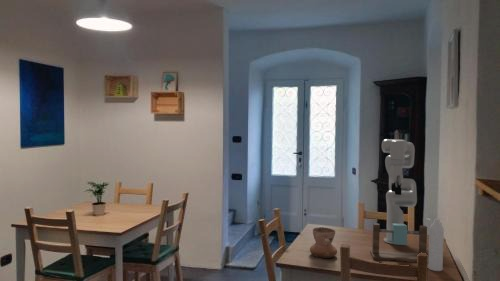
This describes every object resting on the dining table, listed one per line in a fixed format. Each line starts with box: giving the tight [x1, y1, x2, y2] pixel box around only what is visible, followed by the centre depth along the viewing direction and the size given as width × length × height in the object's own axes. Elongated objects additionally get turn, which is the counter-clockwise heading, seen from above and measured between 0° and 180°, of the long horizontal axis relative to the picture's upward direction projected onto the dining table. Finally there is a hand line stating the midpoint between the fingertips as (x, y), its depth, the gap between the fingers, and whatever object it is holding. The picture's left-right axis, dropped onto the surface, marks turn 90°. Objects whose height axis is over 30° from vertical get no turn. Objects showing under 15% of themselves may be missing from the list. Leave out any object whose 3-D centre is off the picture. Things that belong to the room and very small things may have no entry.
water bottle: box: [425, 217, 445, 272], centre depth 198 cm, size 9×6×25 cm
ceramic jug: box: [309, 226, 338, 259], centre depth 217 cm, size 18×14×14 cm
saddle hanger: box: [392, 223, 408, 246], centre depth 214 cm, size 6×6×10 cm
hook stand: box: [369, 222, 428, 263], centre depth 215 cm, size 12×28×18 cm, turn 82°
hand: (396, 193), depth 225 cm, fingers open, 9 cm apart
